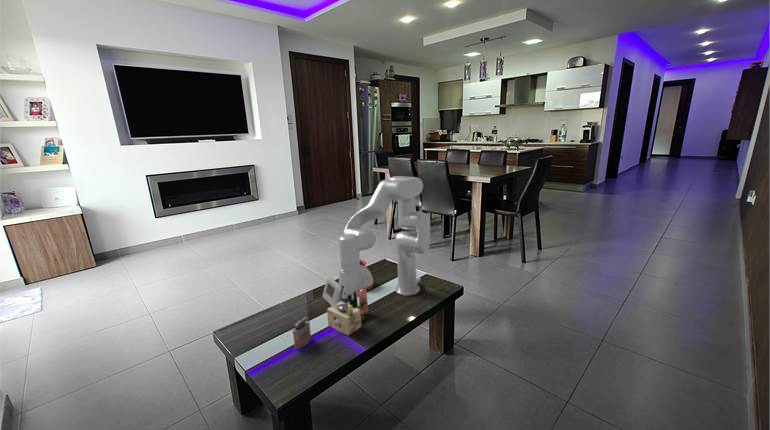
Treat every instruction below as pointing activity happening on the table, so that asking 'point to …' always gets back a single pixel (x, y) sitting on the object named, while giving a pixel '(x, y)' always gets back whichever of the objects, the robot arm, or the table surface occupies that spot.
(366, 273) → the kitchen timer
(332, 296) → the digital clock
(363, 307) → the copper head hammer
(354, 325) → the beige block
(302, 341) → the lighter
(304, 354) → the table surface
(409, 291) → the robot arm
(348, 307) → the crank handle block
